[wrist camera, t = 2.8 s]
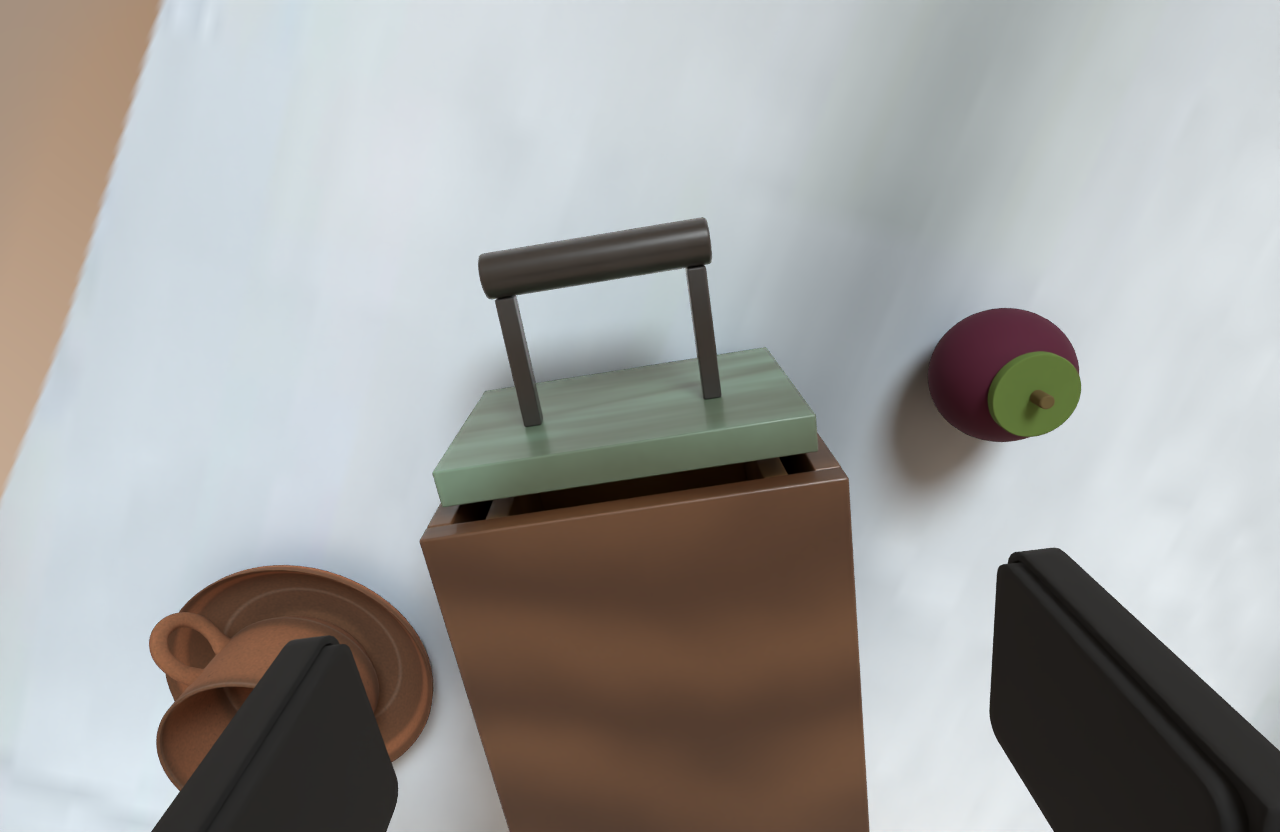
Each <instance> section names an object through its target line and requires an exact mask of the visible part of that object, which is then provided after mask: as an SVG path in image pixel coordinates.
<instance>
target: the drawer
mask: <svg viewBox="0 0 1280 832" xmlns="http://www.w3.org/2000/svg"><path fill="white" fill-rule="evenodd" d="M711 260H712V251H711V241H710V234H709V228H708V224H707V221H706V219H705V218H703V217H702V218H696V219H690V220H683V221H677V222H671V223H665V224H659V225H653V226H647V227H641V228H635V229H629V230H623V231H617V232H611V233H605V234H599V235H593V236H587V237H581V238H575V239H569V240H563V241H557V242H551V243H545V244H539V245H533V246H526V247H520V248H514V249H508V250H502V251H496V252H490V253H484V254H481V255H480V256H479V260H478V270H479V276H480V281H481V285H482V288H483V290H484V293H485V294H486V296H487V298H489V299H496V300H495V304H496V308H497V312H498V317H499V321H500V325H501V329H502V334H503V338H504V342H505V347H506V351H507V355H508V359H509V364H510V368H511V372H512V376H513V381H514V385H515V387H509V388H503V389H496V390H490V391H485V392H484V394H483V395H482V397H481V399H480V400H479V402H478V403H477V405H476V406H475V408H474V409H473V411H472V412H471V414H470V416H469V417H468V419H467V420H466V422H465V423H464V425H463V426H462V428H461V429H460V431H459V433H458V434H457V436H456V437H455V439H454V440H453V442H452V443H451V445H450V446H449V448H448V450H447V451H446V453H445V454H444V456H443V457H442V459H441V460H440V462H439V463H438V465H437V467H436V468H435V470H434V471H433V477H434V480H435V484H436V487H437V491H438V494H439V498H440V501H441V504H442V507H449V506H455V505H462V504H469V503H475V502H482V501H489V500H493V502H492V504H491V507H490V509H489V511H488V514H487V516H486V519H493V518H500V517H506V516H513V515H520V514H527V513H533V512H540V511H547V510H554V509H560V508H567V507H574V506H581V505H587V504H594V503H601V502H608V501H615V500H621V499H628V498H635V497H642V496H648V495H655V494H662V493H669V492H675V491H682V490H689V489H696V488H702V487H709V486H716V485H723V484H729V483H736V482H743V481H750V480H756V479H763V478H770V477H777V476H783V475H788V474H787V472H786V470H785V468H784V466H783V464H782V462H781V460H780V458H779V457H784V456H790V455H797V454H804V453H810V452H817V451H818V439H817V426H816V415H815V414H814V412H813V411H812V410H811V408H810V407H809V405H808V404H807V403H806V401H805V400H804V399H803V397H802V396H801V395H800V393H799V392H798V390H797V389H796V388H795V386H794V385H793V384H792V382H791V381H790V380H789V378H788V377H787V375H786V374H785V373H784V371H783V370H782V369H781V367H780V366H779V365H778V363H777V362H776V360H775V359H774V358H773V356H772V355H771V354H770V352H769V351H768V350H767V348H765V347H764V348H758V349H752V350H745V351H739V352H733V353H726V354H720V355H717V353H716V345H715V337H714V329H713V321H712V313H711V305H710V297H709V288H708V280H707V272H706V267H705V266H704V265H706V264H710V263H711ZM682 268H686V277H687V284H688V292H689V299H690V306H691V314H692V321H693V329H694V336H695V344H696V351H697V358H694V359H688V360H681V361H675V362H669V363H662V364H656V365H649V366H643V367H637V368H630V369H624V370H618V371H611V372H605V373H598V374H592V375H586V376H579V377H573V378H566V379H560V380H554V381H547V382H541V383H536V382H535V378H534V374H533V369H532V365H531V360H530V356H529V351H528V347H527V342H526V338H525V333H524V329H523V324H522V320H521V315H520V311H519V306H518V302H517V297H516V295H522V294H528V293H534V292H540V291H546V290H552V289H558V288H565V287H571V286H577V285H583V284H589V283H595V282H602V281H608V280H614V279H620V278H626V277H632V276H638V275H645V274H651V273H657V272H663V271H669V270H675V269H682ZM486 519H485V520H486Z"/></svg>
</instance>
